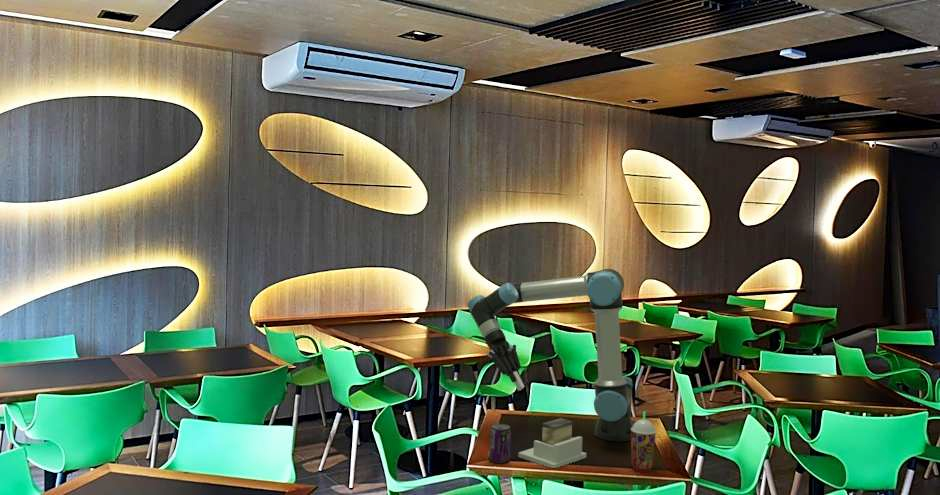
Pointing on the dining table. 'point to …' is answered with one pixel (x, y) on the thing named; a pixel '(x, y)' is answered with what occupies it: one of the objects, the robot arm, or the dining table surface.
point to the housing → (555, 453)
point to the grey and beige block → (556, 431)
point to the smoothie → (642, 444)
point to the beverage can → (500, 443)
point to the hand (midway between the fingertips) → (521, 388)
